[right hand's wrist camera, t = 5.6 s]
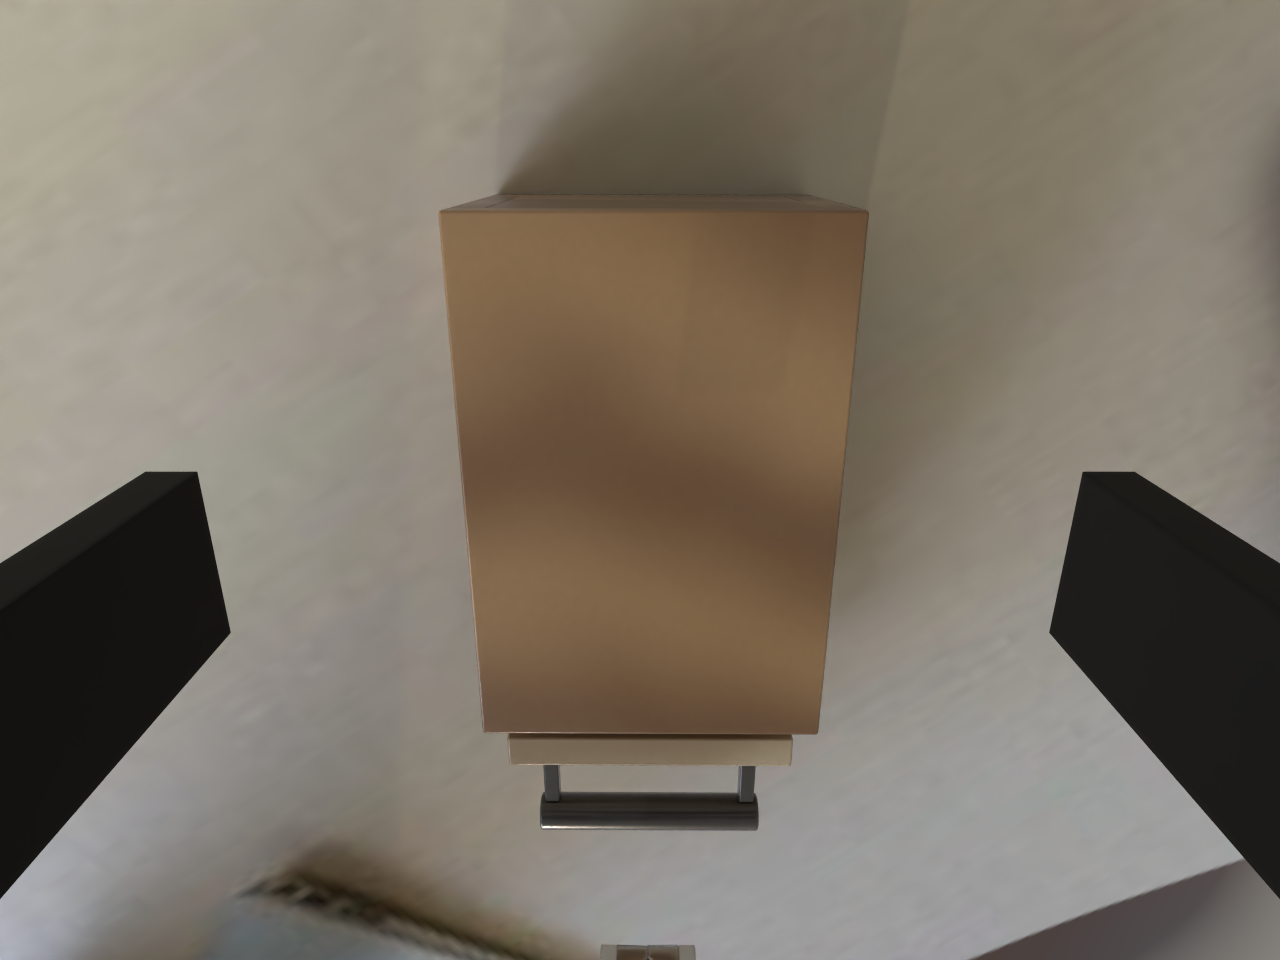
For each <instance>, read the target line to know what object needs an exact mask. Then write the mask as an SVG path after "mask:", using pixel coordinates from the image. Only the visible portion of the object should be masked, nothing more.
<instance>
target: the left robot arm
mask: <svg viewBox="0 0 1280 960" xmlns="http://www.w3.org/2000/svg"><path fill="white" fill-rule="evenodd" d="M600 960H696V954H695V946H694V945H679V946H678V945H648V946H637V945H601V950H600Z"/></svg>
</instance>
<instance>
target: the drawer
mask: <svg viewBox="0 0 1280 960" xmlns="http://www.w3.org/2000/svg"><path fill="white" fill-rule="evenodd" d="M792 745H793V738H792V734H614V733H509V735H508V751H509V763H510V764H511V765H543V766H544V785H545V792H543V794H542V797H541V805H540V826H541V829H543V830H705V831H756V830H757V829H758V822H759V812H758V801H757V796H756V794H755V793H754V782H755V767H756V766H790V765H791V757H792ZM560 765H688V766H739V774H738V793H695V792H561V780H560Z"/></svg>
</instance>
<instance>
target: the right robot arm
mask: <svg viewBox="0 0 1280 960" xmlns="http://www.w3.org/2000/svg"><path fill="white" fill-rule="evenodd" d="M230 633H231V632H230V627H229V622H228V617H227V613H226V608H225V603H224V598H223V593H222V589H221V584H220V579H219V574H218V569H217V565H216V560H215V555H214V550H213V545H212V541H211V536H210V531H209V526H208V521H207V517H206V512H205V507H204V502H203V497H202V493H201V488H200V483H199V478H198V473H197V472H144V473H143V474H141V475H140V476H138V477H136V478H135V479H133V480H132V481H130V482H129V483H127V484H125V485H124V486H122V487H121V488H119V489H117V490H116V491H114V492H113V493H111V494H109V495H108V496H106V497H105V498H103V499H102V500H100V501H98V502H97V503H95V504H94V505H92V506H90V507H89V508H87V509H86V510H84V511H83V512H81V513H79V514H78V515H76V516H75V517H73V518H71V519H70V520H68V521H67V522H65V523H64V524H62V525H60V526H59V527H57V528H56V529H54V530H52V531H51V532H49V533H48V534H46V535H44V536H43V537H41V538H40V539H38V540H37V541H35V542H33V543H32V544H30V545H29V546H27V547H25V548H24V549H22V550H21V551H19V552H18V553H16V554H14V555H13V556H11V557H10V558H8V559H6V560H5V561H3V562H2V563H0V899H1V897H2V896H3V895H4V894H5V893H6V892H7V891H8V889H9V888H10V887H11V886H12V885H13V884H14V882H15V881H16V880H17V879H18V878H19V877H20V875H21V874H22V873H23V872H24V871H25V870H26V869H27V867H28V866H29V865H30V864H31V863H32V862H33V860H34V859H35V858H36V857H37V856H38V855H39V854H40V852H41V851H42V850H43V849H44V848H45V847H46V845H47V844H48V843H49V842H50V841H51V840H52V839H53V837H54V836H55V835H56V834H57V833H58V832H59V830H60V829H61V828H62V827H63V826H64V825H65V823H66V822H67V821H68V820H69V819H70V818H71V817H72V815H73V814H74V813H75V812H76V811H77V810H78V808H79V807H80V806H81V805H82V804H83V803H84V802H85V800H86V799H87V798H88V797H89V796H90V795H91V793H92V792H93V791H94V790H95V789H96V788H97V787H98V785H99V784H100V783H101V782H102V781H103V780H104V778H105V777H106V776H107V775H108V774H109V773H110V772H111V770H112V769H113V768H114V767H115V766H116V765H117V763H118V762H119V761H120V760H121V759H122V758H123V756H124V755H125V754H126V753H127V752H128V751H129V750H130V748H131V747H132V746H133V745H134V744H135V743H136V741H137V740H138V739H139V738H140V737H141V736H142V735H143V733H144V732H145V731H146V730H147V729H148V728H149V726H150V725H151V724H152V723H153V722H154V721H155V720H156V718H157V717H158V716H159V715H160V714H161V713H162V711H163V710H164V709H165V708H166V707H167V706H168V705H169V703H170V702H171V701H172V700H173V699H174V698H175V696H176V695H177V694H178V693H179V692H180V691H181V689H182V688H183V687H184V686H185V685H186V684H187V683H188V681H189V680H190V679H191V678H192V677H193V676H194V674H195V673H196V672H197V671H198V670H199V669H200V668H201V666H202V665H203V664H204V663H205V662H206V661H207V659H208V658H209V657H210V656H211V655H212V654H213V653H214V651H215V650H216V649H217V648H218V647H219V646H220V644H221V643H222V642H223V641H224V640H225V639H226V638H227V636H228V635H229V634H230ZM1049 633H1050V634H1051V635H1052V636H1053V638H1054V639H1055V640H1056V641H1057V642H1058V643H1059V644H1060V646H1061V647H1062V648H1063V649H1064V650H1065V651H1066V653H1067V654H1068V655H1069V656H1070V657H1071V658H1072V659H1073V661H1074V662H1075V663H1076V664H1077V665H1078V666H1079V668H1080V669H1081V670H1082V671H1083V672H1084V673H1085V674H1086V676H1087V677H1088V678H1089V679H1090V680H1091V681H1092V683H1093V684H1094V685H1095V686H1096V687H1097V688H1098V689H1099V691H1100V692H1101V693H1102V694H1103V695H1104V696H1105V698H1106V699H1107V700H1108V701H1109V702H1110V703H1111V705H1112V706H1113V707H1114V708H1115V709H1116V710H1117V711H1118V713H1119V714H1120V715H1121V716H1122V717H1123V718H1124V720H1125V721H1126V722H1127V723H1128V724H1129V725H1130V726H1131V728H1132V729H1133V730H1134V731H1135V732H1136V733H1137V735H1138V736H1139V737H1140V738H1141V739H1142V740H1143V741H1144V743H1145V744H1146V745H1147V746H1148V747H1149V748H1150V750H1151V751H1152V752H1153V753H1154V754H1155V755H1156V756H1157V758H1158V759H1159V760H1160V761H1161V762H1162V763H1163V765H1164V766H1165V767H1166V768H1167V769H1168V770H1169V772H1170V773H1171V774H1172V775H1173V776H1174V777H1175V778H1176V780H1177V781H1178V782H1179V783H1180V784H1181V785H1182V787H1183V788H1184V789H1185V790H1186V791H1187V792H1188V793H1189V795H1190V796H1191V797H1192V798H1193V799H1194V800H1195V802H1196V803H1197V804H1198V805H1199V806H1200V807H1201V808H1202V810H1203V811H1204V812H1205V813H1206V814H1207V815H1208V817H1209V818H1210V819H1211V820H1212V821H1213V822H1214V823H1215V825H1216V826H1217V827H1218V828H1219V829H1220V830H1221V832H1222V833H1223V834H1224V835H1225V836H1226V837H1227V839H1228V840H1229V841H1230V842H1231V843H1232V844H1233V845H1234V847H1235V848H1236V849H1237V850H1238V851H1239V852H1240V854H1241V855H1242V856H1243V857H1244V858H1245V859H1246V860H1247V862H1248V863H1249V864H1250V865H1251V866H1252V867H1253V869H1254V870H1255V871H1256V872H1257V873H1258V874H1259V875H1260V877H1261V878H1262V879H1263V880H1264V881H1265V882H1266V884H1267V885H1268V886H1269V887H1270V888H1271V889H1272V890H1273V892H1274V893H1275V894H1276V895H1277V896H1278V897H1279V899H1280V563H1278V562H1277V561H1275V560H1274V559H1272V558H1270V557H1269V556H1267V555H1266V554H1264V553H1262V552H1261V551H1259V550H1258V549H1256V548H1255V547H1253V546H1251V545H1250V544H1248V543H1247V542H1245V541H1243V540H1242V539H1240V538H1239V537H1237V536H1236V535H1234V534H1232V533H1231V532H1229V531H1228V530H1226V529H1224V528H1223V527H1221V526H1220V525H1218V524H1216V523H1215V522H1213V521H1212V520H1210V519H1209V518H1207V517H1205V516H1204V515H1202V514H1201V513H1199V512H1197V511H1196V510H1194V509H1193V508H1191V507H1190V506H1188V505H1186V504H1185V503H1183V502H1182V501H1180V500H1178V499H1177V498H1175V497H1174V496H1172V495H1171V494H1169V493H1167V492H1166V491H1164V490H1163V489H1161V488H1159V487H1158V486H1156V485H1155V484H1153V483H1151V482H1150V481H1148V480H1147V479H1145V478H1144V477H1142V476H1140V475H1139V474H1137V473H1136V472H1083V473H1082V478H1081V483H1080V488H1079V493H1078V497H1077V502H1076V507H1075V512H1074V517H1073V521H1072V526H1071V531H1070V536H1069V541H1068V545H1067V550H1066V555H1065V560H1064V565H1063V569H1062V574H1061V579H1060V584H1059V589H1058V593H1057V598H1056V603H1055V608H1054V613H1053V617H1052V622H1051V627H1050V632H1049Z"/></svg>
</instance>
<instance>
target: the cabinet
mask: <svg viewBox="0 0 1280 960" xmlns="http://www.w3.org/2000/svg"><path fill="white" fill-rule="evenodd" d="M868 217H869V213H868V211H866V210H863V209H859V208H856V207H852V206H848V205H844V204H840V203H836V202H833V201H829V200H825V199H821V198H817V197H814V196H810V195H493V196H490V197H486V198H483V199H479V200H476V201H472V202H469V203H465V204H461V205H458V206H454V207H451V208H447V209H444V210H441V211H439V225H440V236H441V248H442V260H443V271H444V283H445V294H446V306H447V318H448V329H449V341H450V352H451V364H452V376H453V387H454V399H455V410H456V422H457V434H458V445H459V457H460V468H461V480H462V492H463V503H464V515H465V526H466V538H467V550H468V561H469V573H470V584H471V596H472V608H473V619H474V631H475V642H476V654H477V666H478V677H479V689H480V700H481V712H482V724H483V731H484V733H614V734H817V733H818V728H819V718H820V708H821V698H822V687H823V677H824V667H825V657H826V647H827V636H828V626H829V616H830V606H831V595H832V585H833V575H834V565H835V555H836V544H837V534H838V524H839V514H840V504H841V493H842V483H843V473H844V463H845V452H846V442H847V432H848V422H849V412H850V401H851V391H852V381H853V371H854V361H855V350H856V340H857V330H858V320H859V309H860V299H861V289H862V279H863V269H864V258H865V248H866V238H867V228H868Z"/></svg>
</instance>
